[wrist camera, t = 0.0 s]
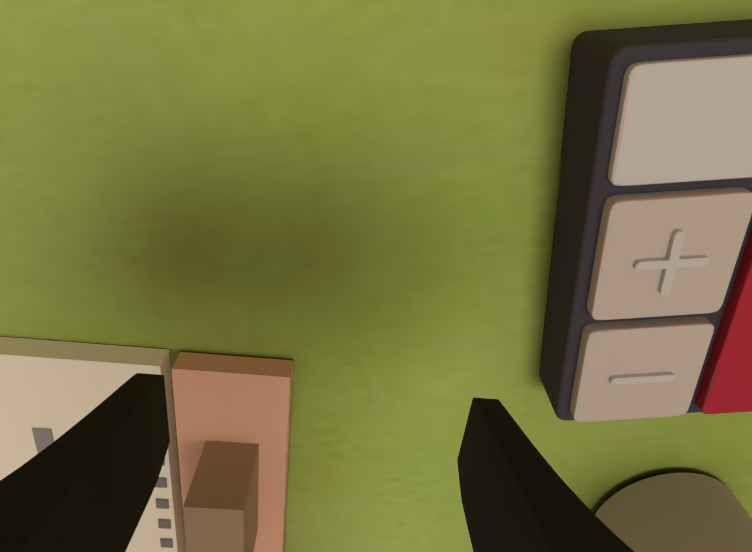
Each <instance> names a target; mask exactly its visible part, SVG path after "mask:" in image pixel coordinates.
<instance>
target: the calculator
mask: <svg viewBox="0 0 752 552" xmlns="http://www.w3.org/2000/svg"><path fill="white" fill-rule="evenodd" d="M561 157H562V177H561V185H560V193H559V201H558V210H557V218H556V226H555V235H554V243H553V251H552V260H551V268H550V276H549V285H548V294H547V304H546V314H545V323H544V333H543V343H542V353H541V363H540V378H541V381H542V383H543V386H544V388H545V390H546V393H547V395H548V397H549V400H550V402H551V404H552V407H553V409H554V411H555V413H556V415H557V417H558V418H559V419H561V420H575V421H577V422H591V421H606V420H622V419H638V418H653V417H669V416H680V415H684V414H685V413H691V412H703V413H705V414H716V413H732V412H748V411H752V19H750V20H736V21H722V22H708V23H694V24H680V25H666V26H652V27H638V28H624V29H610V30H596V31H587V32H583V33H581V34H580V35H578V36H577V37H576V39H575V40H574V42H573V46H572V52H571V60H570V70H569V81H568V91H567V101H566V111H565V121H564V131H563V141H562V152H561Z"/></svg>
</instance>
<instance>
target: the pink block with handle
mask: <svg viewBox="0 0 752 552" xmlns="http://www.w3.org/2000/svg"><path fill="white" fill-rule="evenodd" d="M293 363H294V361H293V360H280V359H267V358H254V357H241V356H228V355H215V354H202V353H189V352H180V353H179V355H178V357H177V359H176V361H175V363H174V365H173V367H172V381H173V393H174V405H175V418H176V430H177V442H178V454H179V466H180V479H181V491H182V503H183V515H184V528H185V540H186V552H284V545H285V524H286V504H287V484H288V464H289V444H290V423H291V403H292V383H293Z"/></svg>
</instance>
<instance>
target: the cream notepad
mask: <svg viewBox="0 0 752 552" xmlns="http://www.w3.org/2000/svg"><path fill="white" fill-rule="evenodd" d="M136 373H144V374H157V375H164V381H165V392H166V403H167V415H168V426H169V437H170V443H169V446H168V449H167V452H166V456H165V459H164V462H163V465H162V468H161V472H160V475H159V478H158V481H157V483H156V486H155V488H154V490H153V493H152V495H151V497H150V499H149V501H148V504H147V506H146V508H145V510H144V512H143V515H142V517H141V519H140V521H139V523H138V525H137V528H136V530H135V532H134V534H133V536H132V538H131V541H130V543H129V545H128V547H127V549H126V551H125V552H186V547H185V535H184V523H183V511H182V499H181V487H180V475H179V462H178V450H177V438H176V426H175V414H174V402H173V390H172V378H171V366H170V354H169V350H168V349H155V348H142V347H129V346H116V345H103V344H90V343H77V342H64V341H51V340H38V339H25V338H12V337H0V480H2V479H3V478H5V477H6V476H8V475H9V474H11V473H12V472H13V471H15V470H16V469H18V468H19V467H21V466H22V465H23V464H25V463H26V462H27V461H29V460H30V459H31V458H33V457H34V456H35V455H37V454H38V453H39V452H41V451H42V450H43V449H45V448H46V447H47V446H49V445H50V444H51V443H53V442H54V441H55V440H57V439H58V438H59V437H60V436H62V435H63V434H64V433H65V432H67V431H68V430H69V429H70V428H72V427H73V426H74V425H75V424H76V423H78V422H79V421H80V420H81V419H83V418H84V417H85V416H86V415H88V414H89V413H90V412H91V411H92V410H93V409H95V408H96V407H97V406H98V405H99V404H101V403H102V402H103V401H104V400H105V399H106V398H108V397H109V396H110V395H111V394H112V393H113V392H115V391H116V390H117V389H118V388H119V387H120V386H122V385H123V384H124V383H125V382H126V381H127V380H129V379H130V378H131V377H132V376H134V375H135V374H136Z"/></svg>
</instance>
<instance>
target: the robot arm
mask: <svg viewBox="0 0 752 552" xmlns="http://www.w3.org/2000/svg"><path fill="white" fill-rule="evenodd" d="M169 443H170V437H169V426H168V415H167V403H166V392H165V381H164V375H157V374H144V373H136V374H135V375H134V376H132V377H131V378H130V379H129V380H127V381H126V382H125V383H124V384H123V385H122V386H120V387H119V388H118V389H117V390H116V391H115V392H113V393H112V394H111V395H110V396H109V397H108V398H106V399H105V400H104V401H103V402H102V403H101V404H99V405H98V406H97V407H96V408H95V409H93V410H92V411H91V412H90V413H89V414H88V415H86V416H85V417H84V418H83V419H81V420H80V421H79V422H78V423H76V424H75V425H74V426H73V427H72V428H70V429H69V430H68V431H67V432H65V433H64V434H63V435H62V436H60V437H59V438H58V439H57V440H55V441H54V442H53V443H51V444H50V445H49V446H47V447H46V448H45V449H43V450H42V451H41V452H39V453H38V454H37V455H35V456H34V457H33V458H31V459H30V460H29V461H27V462H26V463H25V464H23V465H22V466H21V467H19V468H18V469H16V470H15V471H13V472H12V473H11V474H9V475H8V476H6V477H5V478H3V479H2V480H0V552H125V551H126V549H127V547H128V545H129V543H130V541H131V538H132V536H133V534H134V532H135V530H136V528H137V525H138V523H139V521H140V519H141V517H142V515H143V512H144V510H145V508H146V506H147V504H148V501H149V499H150V497H151V495H152V493H153V490H154V488H155V486H156V483H157V481H158V478H159V475H160V472H161V468H162V465H163V462H164V459H165V456H166V452H167V449H168V446H169ZM458 470H459V480H460V489H461V497H462V504H463V508H464V513H465V517H466V521H467V526H468V530H469V534H470V539H471V543H472V547H473V551H474V552H634V551H633V550H632V549H631V548H630V547H629V546H627V545H626V544H625V543H624V542H623V541H622V540H621V539H620V538H619V537H618V536H616V535H615V534H614V533H613V532H612V531H611V530H610V529H609V528H608V527H607V526H606V525H605V524H604V523H603V522H602V521H601V520H600V519H599V518H598V517H597V516H596V515H595V514H594V513H593V512H592V511H591V510H590V509H589V508H588V507H587V506H586V505H585V504H584V503H583V502H582V501H581V500H580V499H579V498H578V497H577V496H576V495H575V493H574V492H573V491H572V490H571V489H570V488H569V487H568V486H567V485H566V484H565V483H564V481H563V480H562V479H561V478H560V477H559V476H558V475H557V473H556V472H555V471H554V470H553V469H552V467H551V466H550V465H549V464H548V463H547V461H546V460H545V459H544V458H543V456H542V455H541V454H540V453H539V452H538V450H537V449H536V448H535V447H534V445H533V444H532V443H531V441H530V440H529V439H528V438H527V436H526V435H525V434H524V432H523V431H522V430H521V429H520V427H519V426H518V425H517V423H516V422H515V421H514V419H513V418H512V417H511V415H510V414H509V413H508V411H507V410H506V409H505V407H504V406H503V405H502V404H501V402H500V401H499V400H497V399H484V398H473V400H472V404H471V408H470V412H469V416H468V420H467V424H466V428H465V432H464V436H463V440H462V444H461V448H460V452H459V456H458Z"/></svg>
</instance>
